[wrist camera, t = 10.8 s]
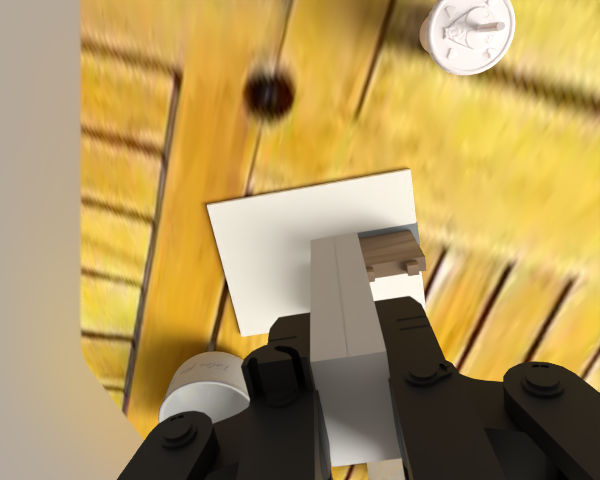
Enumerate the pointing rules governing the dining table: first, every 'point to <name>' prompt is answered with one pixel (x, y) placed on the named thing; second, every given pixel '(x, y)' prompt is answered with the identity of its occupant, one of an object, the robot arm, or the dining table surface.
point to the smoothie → (468, 34)
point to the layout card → (306, 241)
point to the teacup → (207, 387)
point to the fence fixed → (392, 255)
